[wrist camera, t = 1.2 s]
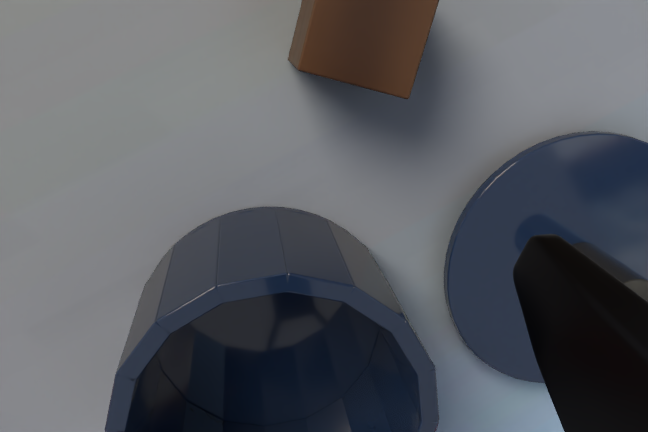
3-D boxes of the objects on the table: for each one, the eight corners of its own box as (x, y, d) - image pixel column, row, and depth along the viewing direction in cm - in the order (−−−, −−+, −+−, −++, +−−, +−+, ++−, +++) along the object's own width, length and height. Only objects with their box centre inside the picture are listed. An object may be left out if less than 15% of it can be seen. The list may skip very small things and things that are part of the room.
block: (412, -16, 25) (446, -20, 21) (382, 86, 26) (409, 99, 22) (313, -47, 24) (329, -57, 20) (287, 60, 25) (297, 70, 21)
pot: (430, 352, 31) (488, 455, 24) (230, 467, 31) (228, 601, 24) (313, 157, 27) (341, 211, 20) (85, 293, 27) (33, 393, 20)
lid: (716, 290, 32) (807, 344, 27) (502, 411, 32) (551, 486, 27) (639, 75, 27) (731, 90, 22) (393, 219, 28) (428, 266, 23)
